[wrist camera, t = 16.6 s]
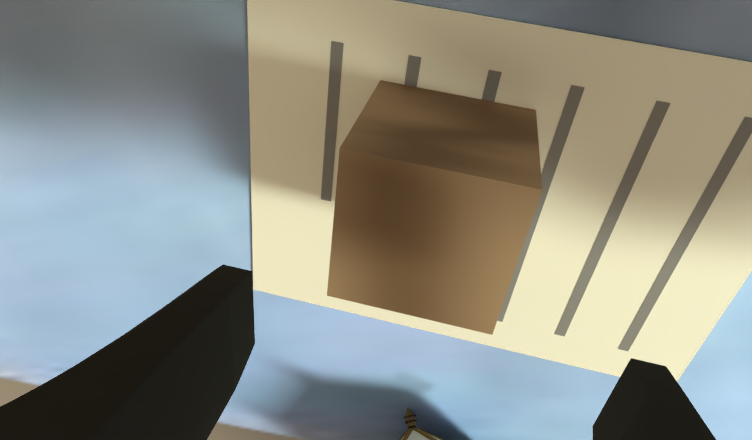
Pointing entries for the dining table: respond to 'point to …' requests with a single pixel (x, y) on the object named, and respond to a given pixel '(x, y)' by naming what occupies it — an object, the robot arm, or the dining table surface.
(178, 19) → the dining table surface
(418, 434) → the game die
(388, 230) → the walnut block
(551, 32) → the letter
